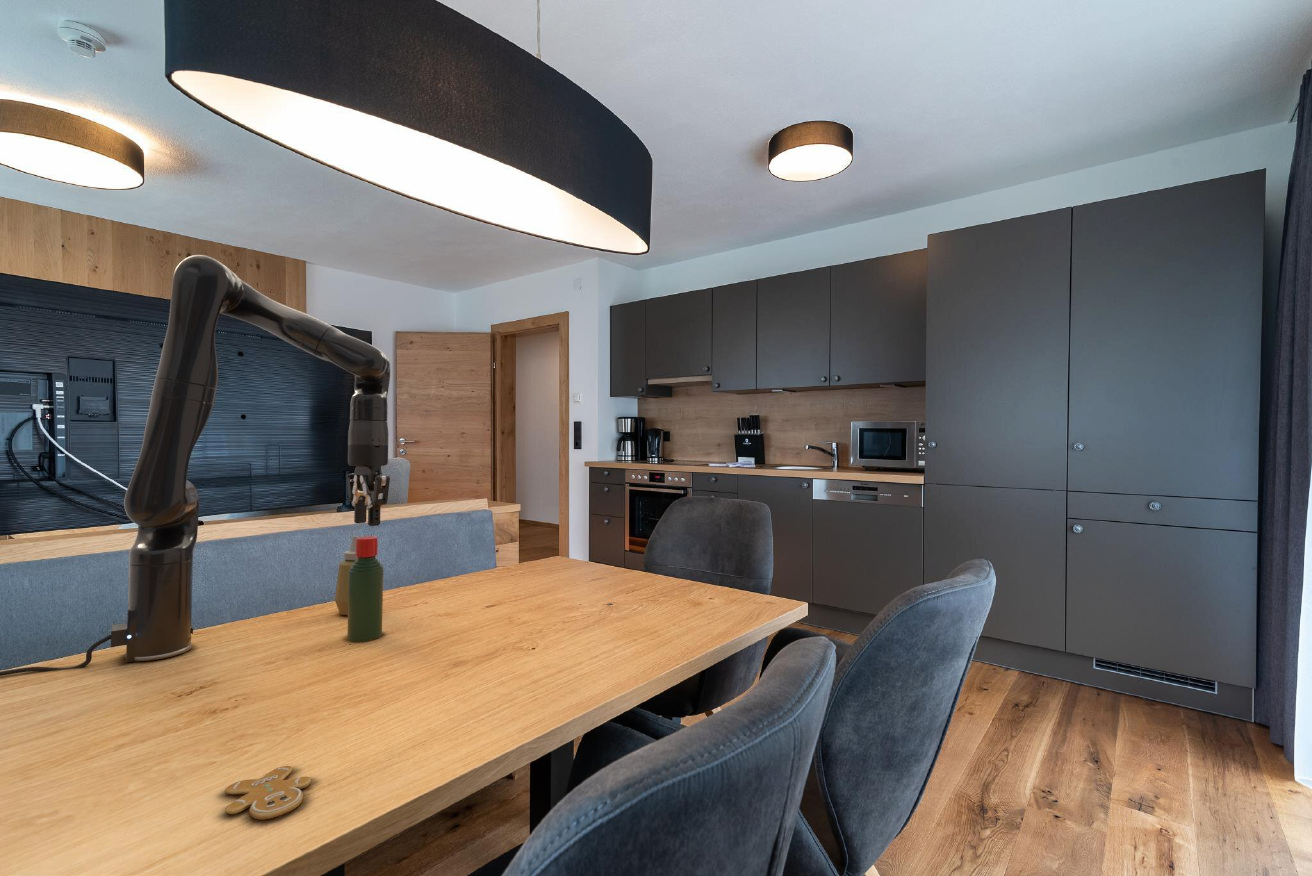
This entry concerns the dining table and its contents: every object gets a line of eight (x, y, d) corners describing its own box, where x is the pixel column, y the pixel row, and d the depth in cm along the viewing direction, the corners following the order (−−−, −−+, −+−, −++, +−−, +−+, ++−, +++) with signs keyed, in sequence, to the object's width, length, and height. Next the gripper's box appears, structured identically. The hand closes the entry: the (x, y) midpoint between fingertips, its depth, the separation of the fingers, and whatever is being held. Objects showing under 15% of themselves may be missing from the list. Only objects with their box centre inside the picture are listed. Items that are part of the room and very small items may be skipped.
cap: (359, 558, 117) (359, 539, 117) (353, 555, 120) (354, 537, 120) (379, 556, 120) (379, 538, 120) (373, 553, 123) (374, 535, 123)
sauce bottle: (352, 644, 115) (354, 543, 116) (343, 635, 120) (345, 539, 120) (386, 637, 120) (388, 540, 120) (376, 629, 124) (378, 536, 125)
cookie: (297, 757, 72) (326, 789, 65) (296, 765, 72) (325, 798, 65) (214, 786, 65) (236, 824, 59) (214, 794, 65) (236, 834, 59)
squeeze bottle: (379, 611, 138) (381, 535, 138) (346, 619, 131) (348, 539, 131) (360, 606, 142) (361, 532, 143) (327, 613, 135) (328, 536, 136)
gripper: (334, 442, 122) (332, 523, 122) (366, 442, 113) (365, 529, 113) (370, 442, 128) (368, 519, 128) (403, 443, 119) (402, 525, 119)
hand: (367, 523), depth 120 cm, fingers open, 5 cm apart
